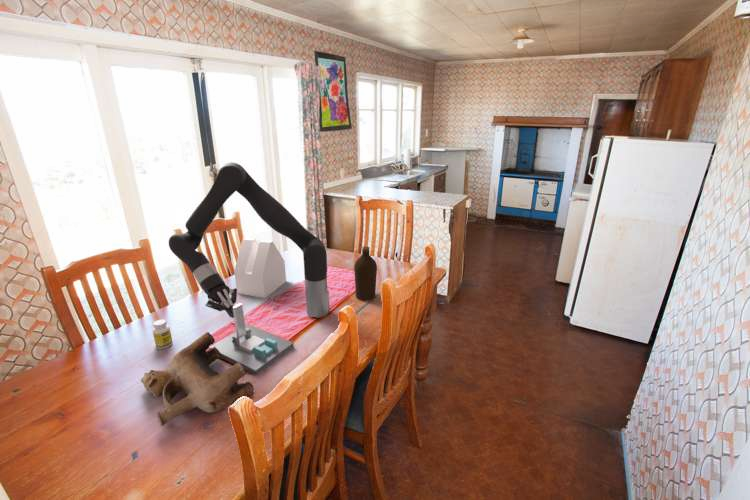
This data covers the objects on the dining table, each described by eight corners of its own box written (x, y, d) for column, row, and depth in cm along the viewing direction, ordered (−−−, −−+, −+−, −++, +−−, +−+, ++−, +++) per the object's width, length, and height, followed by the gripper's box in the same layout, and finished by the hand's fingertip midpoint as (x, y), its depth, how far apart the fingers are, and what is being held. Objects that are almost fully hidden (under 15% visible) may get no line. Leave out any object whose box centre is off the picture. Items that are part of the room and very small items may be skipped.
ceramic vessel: (204, 321, 122) (122, 363, 106) (253, 368, 105) (164, 427, 88) (212, 348, 129) (136, 392, 113) (260, 397, 111) (178, 457, 95)
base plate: (248, 328, 144) (247, 316, 142) (293, 347, 133) (292, 334, 131) (209, 351, 130) (207, 339, 128) (256, 375, 118) (254, 361, 117)
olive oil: (363, 303, 164) (363, 253, 155) (350, 295, 172) (349, 246, 163) (381, 297, 170) (382, 248, 161) (367, 289, 178) (367, 242, 169)
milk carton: (264, 298, 168) (259, 248, 159) (237, 293, 172) (230, 244, 163) (286, 281, 185) (282, 235, 176) (260, 277, 189) (255, 232, 180)
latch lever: (244, 333, 134) (239, 303, 129) (246, 334, 133) (242, 304, 129) (237, 337, 131) (232, 306, 127) (239, 338, 131) (234, 307, 126)
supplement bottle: (165, 350, 130) (160, 327, 127) (152, 348, 131) (147, 325, 128) (176, 341, 135) (171, 319, 132) (163, 339, 136) (158, 317, 133)
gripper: (195, 280, 124) (223, 320, 123) (227, 267, 135) (253, 304, 134) (188, 290, 129) (216, 329, 127) (220, 276, 139) (245, 312, 138)
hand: (235, 316), depth 130 cm, fingers closed
